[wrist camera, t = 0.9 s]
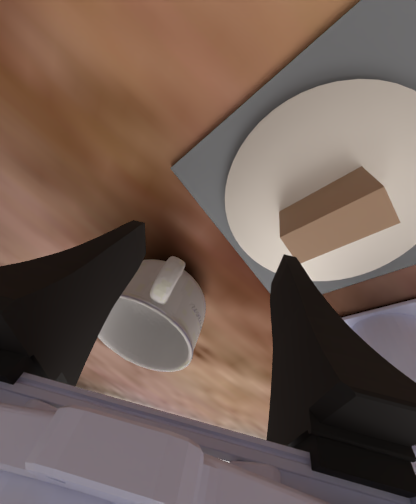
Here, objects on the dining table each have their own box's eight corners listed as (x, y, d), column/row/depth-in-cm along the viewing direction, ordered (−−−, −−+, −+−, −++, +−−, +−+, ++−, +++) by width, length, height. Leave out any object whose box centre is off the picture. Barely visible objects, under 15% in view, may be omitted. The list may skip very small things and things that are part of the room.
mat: (495, 234, 17) (499, 237, 17) (281, 304, 26) (281, 307, 25) (416, -50, 11) (421, -54, 11) (172, 166, 20) (170, 168, 19)
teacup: (182, 324, 32) (159, 383, 26) (113, 280, 30) (70, 333, 24) (250, 269, 24) (240, 335, 18) (162, 204, 22) (116, 252, 16)
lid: (475, 228, 17) (535, 270, 13) (282, 295, 24) (284, 334, 20) (405, 3, 12) (468, -38, 8) (190, 176, 19) (169, 198, 16)
